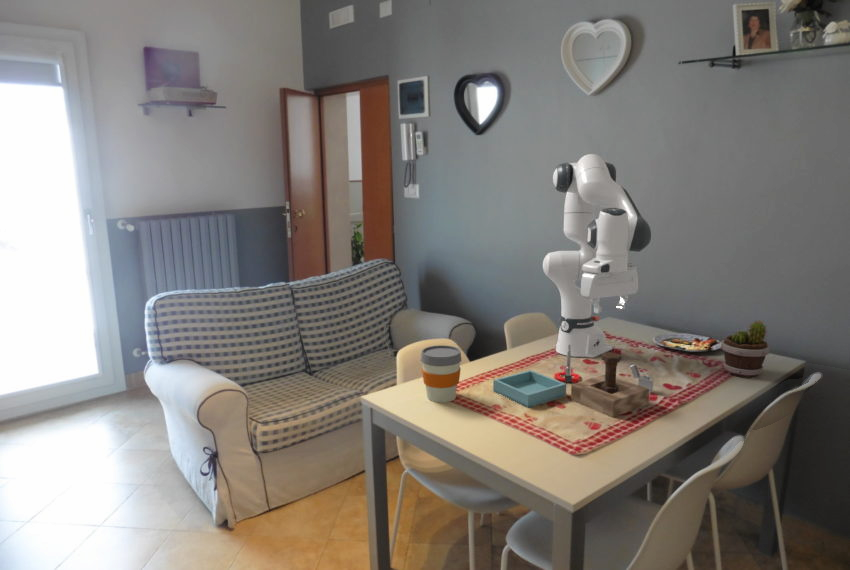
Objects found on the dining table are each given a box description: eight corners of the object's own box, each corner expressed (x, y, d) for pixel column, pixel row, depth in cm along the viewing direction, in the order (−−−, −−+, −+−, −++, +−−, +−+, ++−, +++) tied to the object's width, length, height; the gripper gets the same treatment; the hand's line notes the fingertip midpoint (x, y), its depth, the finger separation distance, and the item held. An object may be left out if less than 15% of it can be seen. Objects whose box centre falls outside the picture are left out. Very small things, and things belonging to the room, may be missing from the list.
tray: (530, 381, 202) (530, 369, 202) (565, 396, 189) (566, 384, 189) (493, 391, 194) (493, 379, 193) (527, 407, 181) (528, 395, 180)
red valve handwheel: (553, 374, 210) (555, 382, 201) (554, 338, 208) (556, 344, 199) (578, 375, 209) (581, 384, 200) (580, 339, 207) (582, 345, 198)
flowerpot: (711, 373, 207) (716, 317, 203) (728, 363, 218) (733, 308, 214) (758, 384, 197) (764, 324, 193) (773, 372, 207) (779, 315, 203)
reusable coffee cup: (468, 393, 192) (468, 348, 189) (449, 407, 182) (449, 359, 179) (434, 387, 199) (433, 343, 196) (413, 400, 188) (413, 353, 185)
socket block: (606, 388, 195) (606, 374, 194) (648, 404, 182) (649, 388, 181) (570, 399, 186) (571, 384, 185) (612, 417, 173) (613, 401, 172)
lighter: (652, 392, 192) (654, 367, 190) (650, 393, 191) (651, 369, 189) (630, 386, 196) (632, 363, 195) (628, 388, 195) (629, 364, 194)
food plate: (732, 346, 237) (733, 337, 236) (708, 360, 221) (708, 351, 221) (670, 335, 255) (670, 327, 254) (643, 348, 239) (643, 339, 239)
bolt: (622, 404, 182) (624, 356, 179) (608, 407, 181) (610, 358, 178) (609, 397, 188) (612, 351, 185) (596, 400, 186) (598, 353, 183)
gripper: (628, 261, 184) (625, 306, 186) (578, 265, 174) (576, 312, 176) (644, 263, 179) (642, 309, 181) (594, 268, 169) (592, 316, 171)
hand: (609, 311), depth 179 cm, fingers open, 8 cm apart
